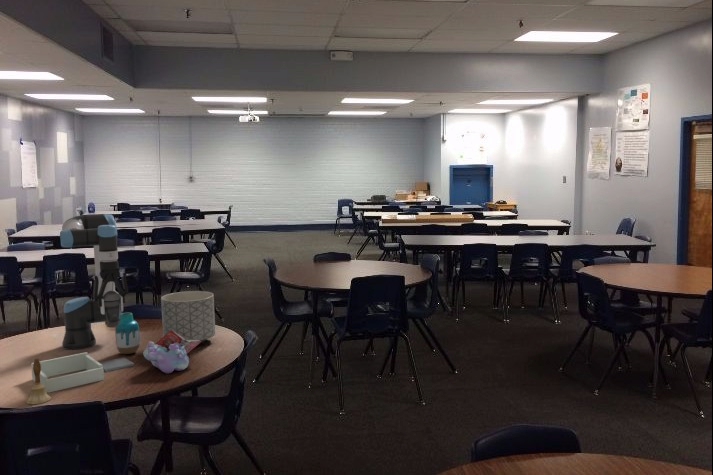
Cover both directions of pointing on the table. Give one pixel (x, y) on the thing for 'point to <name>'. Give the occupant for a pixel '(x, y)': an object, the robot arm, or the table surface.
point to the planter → (189, 314)
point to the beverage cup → (112, 307)
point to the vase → (127, 334)
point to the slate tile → (116, 364)
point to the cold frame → (66, 366)
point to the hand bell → (38, 387)
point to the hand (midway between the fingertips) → (112, 312)
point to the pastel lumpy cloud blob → (170, 352)
